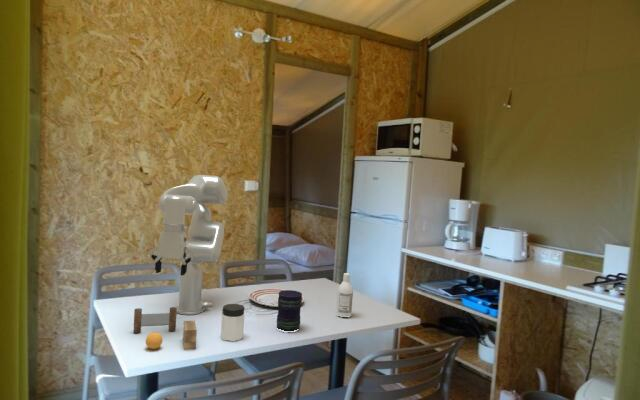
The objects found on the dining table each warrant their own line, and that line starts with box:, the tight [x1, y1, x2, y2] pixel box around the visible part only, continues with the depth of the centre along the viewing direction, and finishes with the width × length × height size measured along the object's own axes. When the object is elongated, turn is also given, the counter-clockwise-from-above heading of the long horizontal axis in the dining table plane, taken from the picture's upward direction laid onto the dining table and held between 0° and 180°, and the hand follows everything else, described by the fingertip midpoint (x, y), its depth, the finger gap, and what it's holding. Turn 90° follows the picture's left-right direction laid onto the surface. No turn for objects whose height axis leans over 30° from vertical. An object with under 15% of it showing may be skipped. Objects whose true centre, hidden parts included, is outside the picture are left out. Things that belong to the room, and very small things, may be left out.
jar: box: [220, 303, 245, 342], centre depth 169 cm, size 9×8×12 cm
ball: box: [145, 332, 163, 350], centre depth 154 cm, size 6×6×6 cm
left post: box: [133, 307, 143, 335], centre depth 167 cm, size 3×3×9 cm
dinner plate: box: [248, 288, 305, 308], centre depth 219 cm, size 27×27×3 cm
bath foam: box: [335, 272, 354, 316], centre depth 204 cm, size 7×7×20 cm
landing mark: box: [141, 312, 170, 327], centre depth 182 cm, size 14×14×1 cm
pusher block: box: [182, 320, 198, 351], centre depth 160 cm, size 4×10×7 cm, turn 19°
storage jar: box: [276, 289, 303, 331], centre depth 182 cm, size 10×10×15 cm
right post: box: [168, 306, 178, 333], centre depth 171 cm, size 3×3×9 cm
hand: (170, 273), depth 167 cm, fingers open, 9 cm apart
